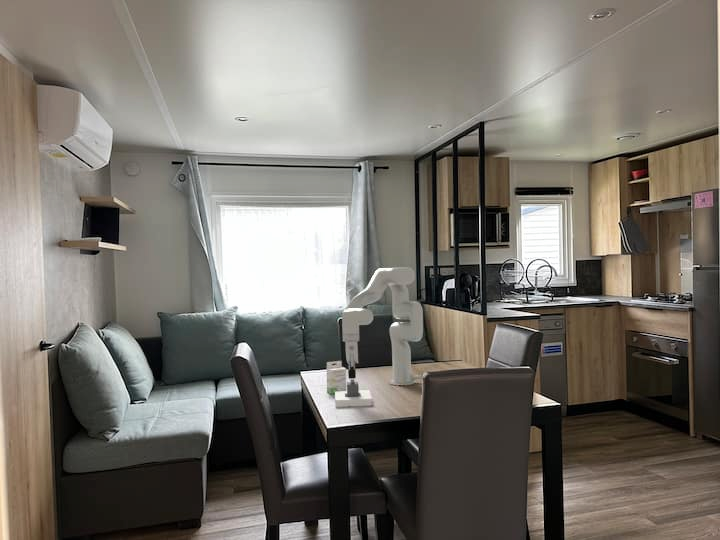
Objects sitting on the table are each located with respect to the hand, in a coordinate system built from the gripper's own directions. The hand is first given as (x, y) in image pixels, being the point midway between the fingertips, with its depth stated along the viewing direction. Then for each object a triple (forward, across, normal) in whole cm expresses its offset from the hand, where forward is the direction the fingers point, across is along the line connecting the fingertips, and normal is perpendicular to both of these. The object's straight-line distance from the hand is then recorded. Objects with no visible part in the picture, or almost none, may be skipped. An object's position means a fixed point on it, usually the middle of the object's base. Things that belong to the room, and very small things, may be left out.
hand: (352, 378), depth 230 cm
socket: (+11, 0, 0) cm, 11 cm away
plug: (+10, 0, 0) cm, 10 cm away
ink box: (+11, +19, +7) cm, 23 cm away
